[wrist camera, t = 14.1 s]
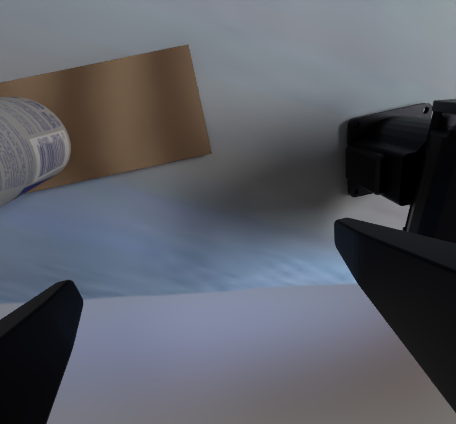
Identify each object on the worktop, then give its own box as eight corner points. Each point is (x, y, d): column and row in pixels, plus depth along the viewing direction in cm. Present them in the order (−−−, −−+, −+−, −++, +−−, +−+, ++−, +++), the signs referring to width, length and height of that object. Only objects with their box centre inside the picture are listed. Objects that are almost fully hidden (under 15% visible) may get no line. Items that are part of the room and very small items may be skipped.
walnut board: (188, 46, 18) (188, 44, 17) (211, 151, 20) (211, 153, 20) (-54, 96, 17) (-65, 96, 16) (4, 195, 20) (-4, 199, 19)
